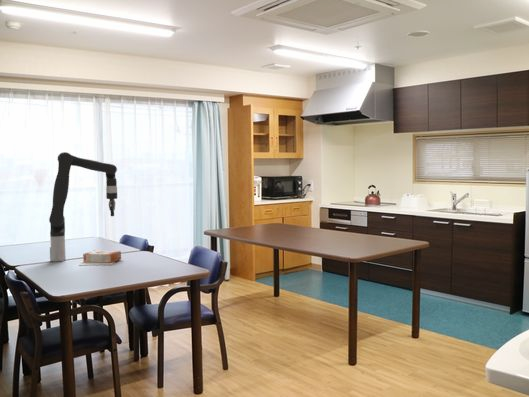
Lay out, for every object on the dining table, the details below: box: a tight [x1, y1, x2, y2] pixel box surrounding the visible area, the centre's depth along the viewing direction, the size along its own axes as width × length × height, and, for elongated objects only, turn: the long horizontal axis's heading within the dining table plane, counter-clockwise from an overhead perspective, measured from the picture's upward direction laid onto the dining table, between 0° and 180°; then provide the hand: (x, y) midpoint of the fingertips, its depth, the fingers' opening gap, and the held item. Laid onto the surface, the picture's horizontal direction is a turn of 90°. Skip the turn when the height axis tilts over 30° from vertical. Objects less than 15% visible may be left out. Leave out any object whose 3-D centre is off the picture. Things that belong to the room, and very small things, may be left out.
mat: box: [78, 261, 116, 267], centre depth 332 cm, size 21×18×1 cm
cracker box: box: [82, 250, 122, 263], centre depth 336 cm, size 14×6×21 cm
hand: (112, 216), depth 355 cm, fingers closed
